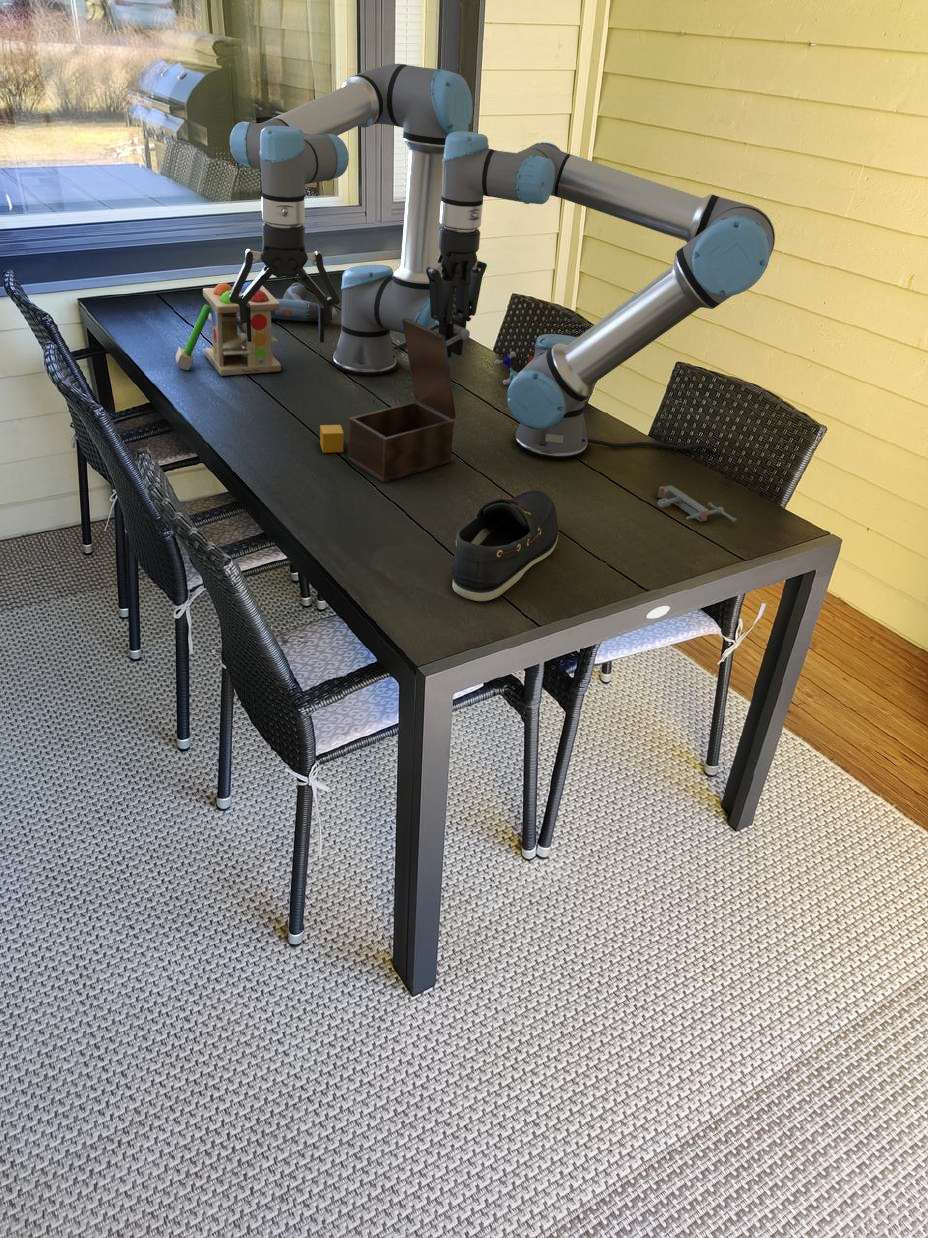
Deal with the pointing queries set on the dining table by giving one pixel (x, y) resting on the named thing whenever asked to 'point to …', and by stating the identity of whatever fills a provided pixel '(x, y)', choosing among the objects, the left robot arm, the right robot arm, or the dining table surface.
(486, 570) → the boat shoe
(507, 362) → the molecular model
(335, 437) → the block
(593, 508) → the dining table surface
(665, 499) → the clamp
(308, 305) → the power drill
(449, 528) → the dining table surface
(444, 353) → the lid
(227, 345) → the pounding bench toy
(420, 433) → the chest
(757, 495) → the dining table surface
